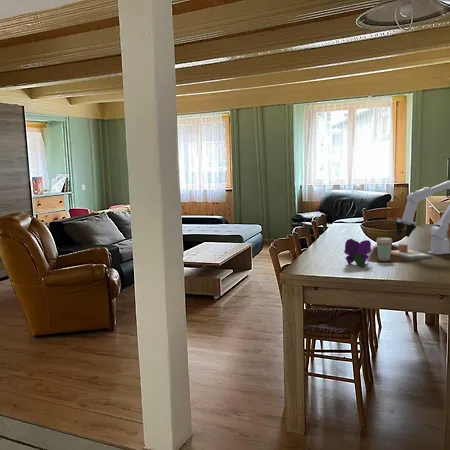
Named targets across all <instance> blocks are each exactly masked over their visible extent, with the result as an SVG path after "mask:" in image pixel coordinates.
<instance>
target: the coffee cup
mask: <svg viewBox="0 0 450 450" xmlns="http://www.w3.org/2000/svg"><path fill="white" fill-rule="evenodd" d="M375 242H376V249H377V258H378V260H379V261H381V262H388V261H390V260H391V255H392V254H391V251H392V245H393V239H392V237H385V236H384V237H377V238H376V241H375Z"/></svg>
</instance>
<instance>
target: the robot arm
mask: <svg viewBox="0 0 450 450" xmlns="http://www.w3.org/2000/svg"><path fill="white" fill-rule="evenodd" d="M448 189H449V190H450V179H449V180H446V181H444V182H441V183H439V184H436V185H434V186H432V187H429V186H427V187H426V186H424V187H422V189H419V190H415V192H409V193H408V194H407V195H406V200H407V201H406V205H405V208H404V212H403V215H402V218H396V221H395V225H396V235H397V236H401V235H402V232H403V229H404V228H405V227H406V230H405V235H404V236H405V237H407V238H410V236H411V234H412V232H413V231H414V230H416V229H417V222H416V221H414V218H415V213H416V210H417V206H418V203H420V202H421V201H423V200H426V199H427V198H430V197H432V196H433V194H435V193H438V192H441V191H444V190H448ZM449 225H450V203H449V205H448V206H447V208H446V209H445V211H444V212H443V214H442V215H441V217H440V218H439V220H437V221H436V222H435V223H434V225H432V226H431V227H429V231H428V232H429V235H430V236H431V237H430V251H429V250H428V251H427V253H428V254H431V255H438V256H439V255H445V254H447V255H448V254H450V240H449V239H448V238H447V235H448V231H449Z"/></svg>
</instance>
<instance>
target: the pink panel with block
mask: <svg viewBox="0 0 450 450" xmlns="http://www.w3.org/2000/svg"><path fill="white" fill-rule="evenodd" d="M408 246H409V245H408V244H406V243H399V244H398V249H396V250H391V254H390V255H393V256H398V253H409V252H418V251H416V250H413V249H409V248H408ZM398 257H399V256H398Z"/></svg>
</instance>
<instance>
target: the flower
mask: <svg viewBox="0 0 450 450" xmlns="http://www.w3.org/2000/svg"><path fill="white" fill-rule="evenodd" d="M371 248H372V242H371V241H370V240H369V239H367V240H366V239H365V240H362V241H360V242H359V241H357V240H354V239H353V238H348V239H347V240H346V241H345V244H344V251H343V252H344V254H345V255H347V256H346V257H345V258H344V259H345V260H346V263H347V265H351V264H353V263H354V262H355V264H356V266H358V267H359V268H361V269H364V268H365V267H366V266H367V265H369V262H367V263H366V261H367V259H369V254H370V253H371V252H372V249H371Z"/></svg>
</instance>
